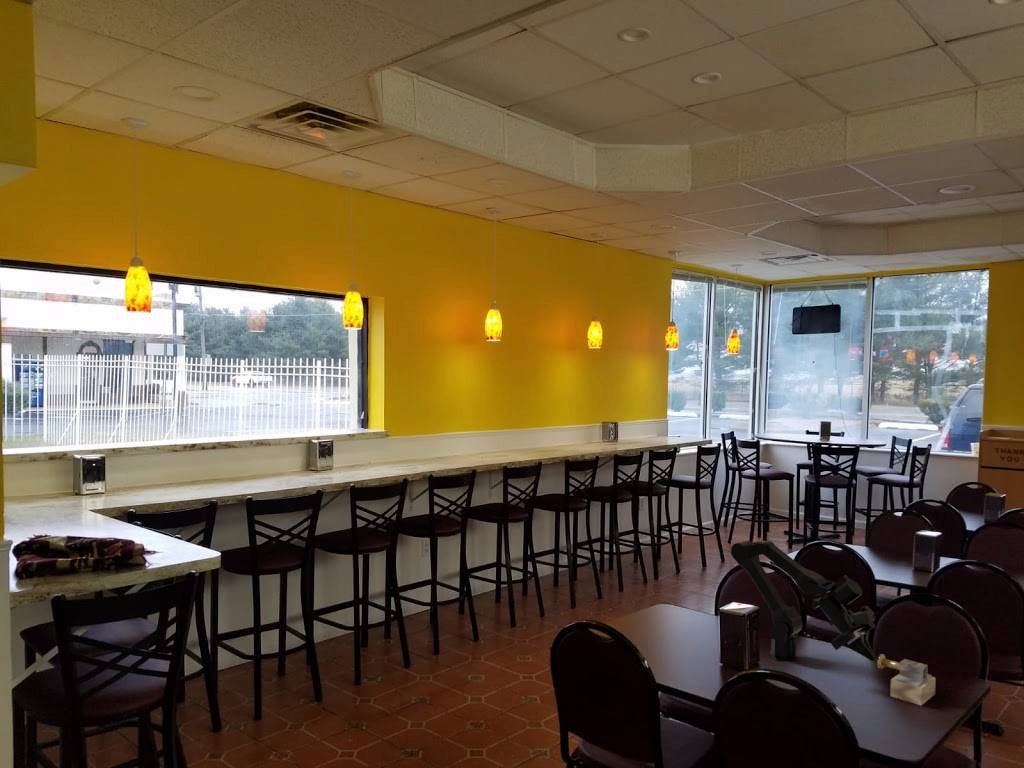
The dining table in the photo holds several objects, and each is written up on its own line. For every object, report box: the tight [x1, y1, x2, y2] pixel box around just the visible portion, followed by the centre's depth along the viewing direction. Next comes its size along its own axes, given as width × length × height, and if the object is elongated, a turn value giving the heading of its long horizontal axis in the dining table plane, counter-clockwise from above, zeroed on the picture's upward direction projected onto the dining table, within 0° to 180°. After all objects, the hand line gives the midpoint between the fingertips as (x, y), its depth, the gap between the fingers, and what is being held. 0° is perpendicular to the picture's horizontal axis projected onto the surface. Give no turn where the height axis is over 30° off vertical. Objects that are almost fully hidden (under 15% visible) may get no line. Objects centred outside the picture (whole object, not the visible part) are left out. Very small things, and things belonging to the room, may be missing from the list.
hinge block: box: [890, 658, 936, 706], centre depth 214 cm, size 8×11×9 cm
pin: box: [876, 653, 900, 671], centre depth 218 cm, size 9×4×4 cm, turn 43°
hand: (874, 660), depth 222 cm, fingers closed
